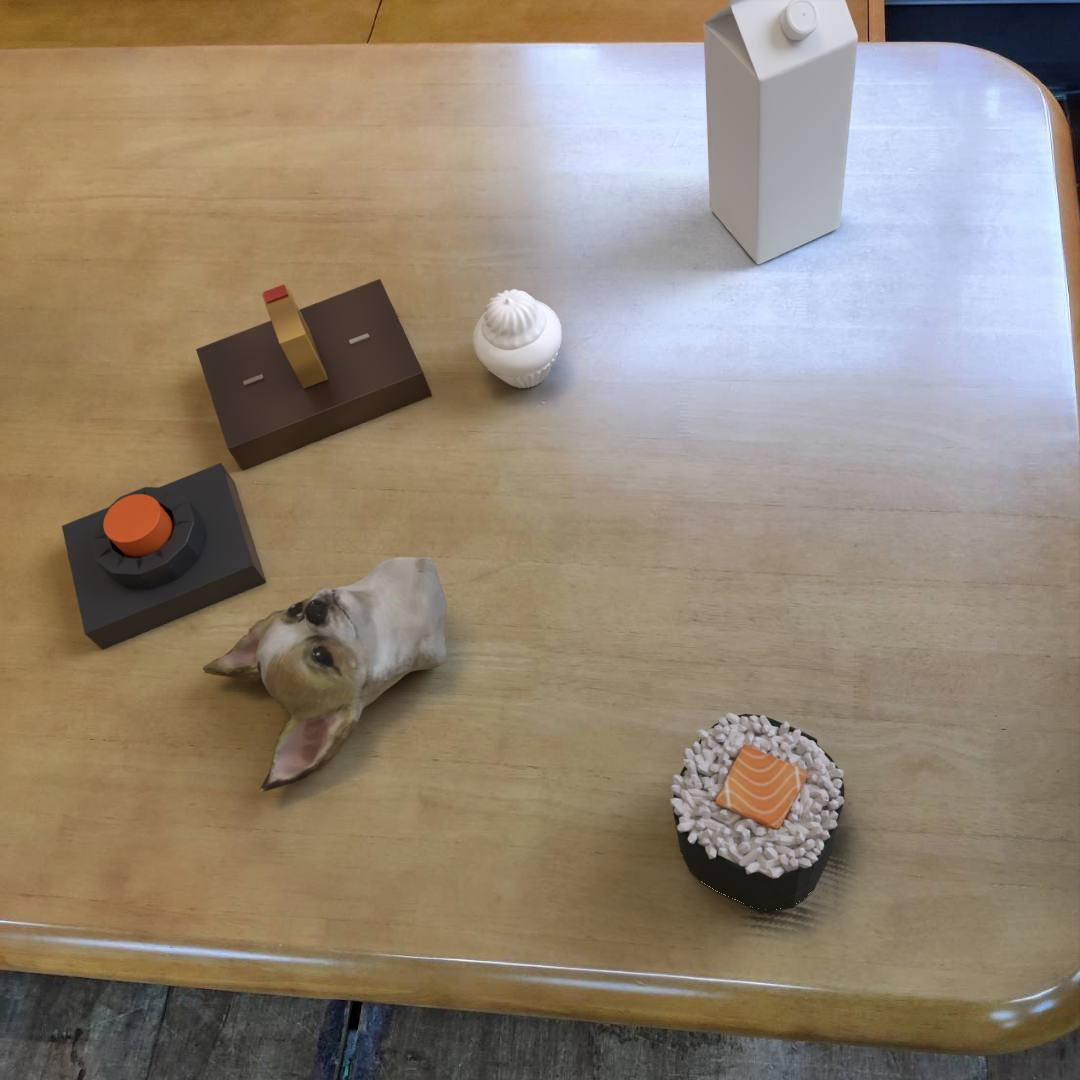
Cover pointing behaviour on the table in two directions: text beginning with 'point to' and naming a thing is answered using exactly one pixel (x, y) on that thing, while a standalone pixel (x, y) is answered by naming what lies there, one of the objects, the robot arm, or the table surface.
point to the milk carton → (778, 119)
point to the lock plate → (327, 407)
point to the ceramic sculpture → (340, 657)
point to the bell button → (138, 525)
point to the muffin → (518, 338)
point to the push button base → (164, 560)
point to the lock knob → (294, 336)
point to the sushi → (757, 810)
